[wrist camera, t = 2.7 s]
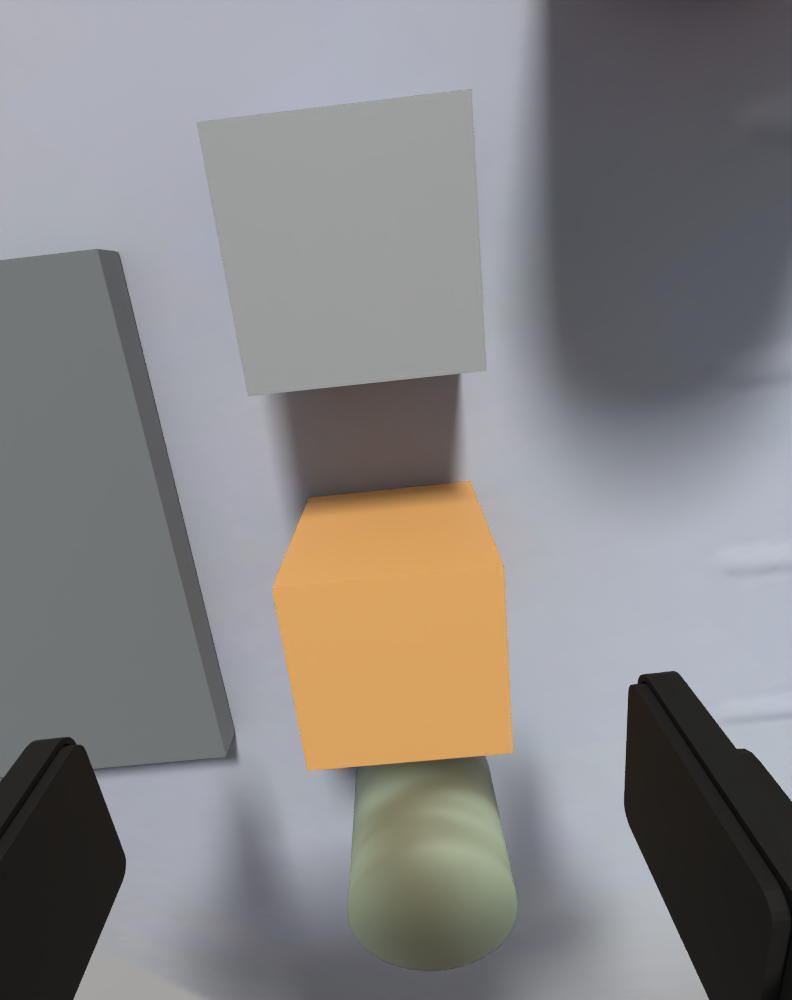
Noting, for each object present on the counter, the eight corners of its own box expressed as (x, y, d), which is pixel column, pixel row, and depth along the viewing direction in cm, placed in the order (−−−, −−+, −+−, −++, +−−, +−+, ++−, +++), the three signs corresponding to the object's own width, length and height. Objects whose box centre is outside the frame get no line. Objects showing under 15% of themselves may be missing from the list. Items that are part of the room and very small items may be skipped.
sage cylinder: (484, 718, 21) (513, 839, 17) (494, 823, 23) (522, 961, 18) (346, 733, 21) (335, 858, 17) (366, 838, 23) (360, 978, 18)
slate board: (117, 251, 16) (97, 248, 15) (234, 731, 21) (226, 756, 20) (-205, 289, 16) (-249, 289, 15) (-10, 754, 22) (-32, 779, 20)
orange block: (469, 480, 18) (503, 565, 13) (479, 622, 20) (513, 753, 14) (309, 497, 19) (271, 588, 13) (331, 635, 20) (307, 770, 14)
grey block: (447, 149, 15) (471, 88, 11) (460, 347, 17) (486, 370, 12) (255, 172, 16) (196, 122, 11) (287, 366, 17) (248, 395, 12)
